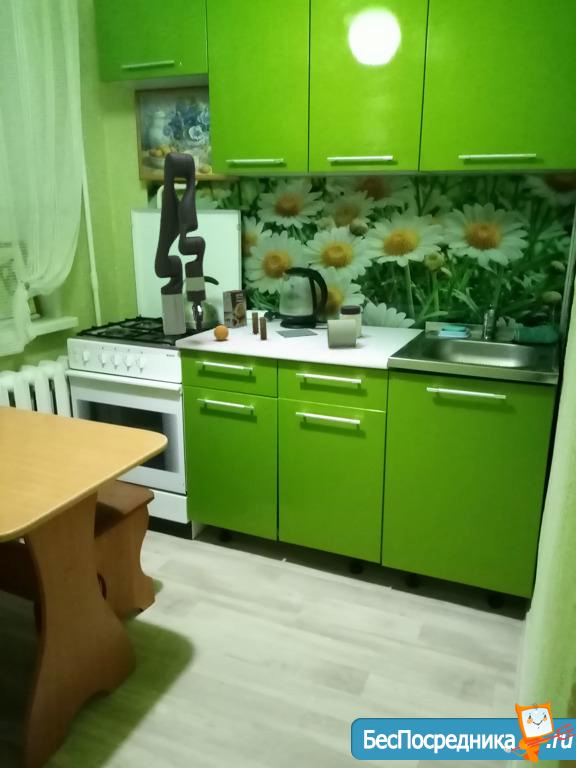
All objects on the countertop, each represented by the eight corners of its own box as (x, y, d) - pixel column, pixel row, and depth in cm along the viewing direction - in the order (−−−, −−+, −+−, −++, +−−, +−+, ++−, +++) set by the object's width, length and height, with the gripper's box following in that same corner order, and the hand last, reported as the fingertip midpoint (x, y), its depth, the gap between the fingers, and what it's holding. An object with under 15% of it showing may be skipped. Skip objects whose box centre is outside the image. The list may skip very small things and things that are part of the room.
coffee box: (234, 328, 266) (232, 292, 261) (223, 327, 269) (221, 291, 265) (247, 325, 273) (246, 289, 268) (237, 324, 276) (235, 289, 272)
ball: (215, 342, 238) (214, 327, 237) (213, 339, 244) (212, 324, 242) (230, 340, 240) (229, 326, 238) (227, 338, 245) (226, 323, 244)
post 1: (253, 334, 251) (252, 313, 248) (252, 333, 253) (251, 312, 251) (259, 334, 251) (258, 312, 249) (258, 332, 254) (257, 312, 251)
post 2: (261, 340, 239) (260, 318, 236) (259, 339, 241) (258, 317, 239) (267, 339, 239) (266, 317, 237) (266, 338, 242) (265, 316, 239)
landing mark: (285, 337, 242) (285, 337, 242) (275, 331, 255) (275, 331, 255) (317, 334, 246) (317, 334, 246) (306, 328, 259) (306, 328, 259)
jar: (342, 339, 236) (341, 309, 233) (337, 335, 244) (337, 306, 241) (363, 337, 237) (364, 307, 234) (358, 333, 245) (358, 304, 242)
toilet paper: (353, 342, 229) (353, 317, 226) (356, 348, 219) (356, 321, 217) (327, 343, 229) (327, 318, 226) (329, 349, 219) (328, 322, 217)
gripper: (183, 288, 238) (187, 330, 243) (188, 291, 226) (192, 335, 231) (202, 286, 241) (205, 328, 245) (208, 289, 228) (211, 333, 233)
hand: (199, 332), depth 238 cm, fingers closed
